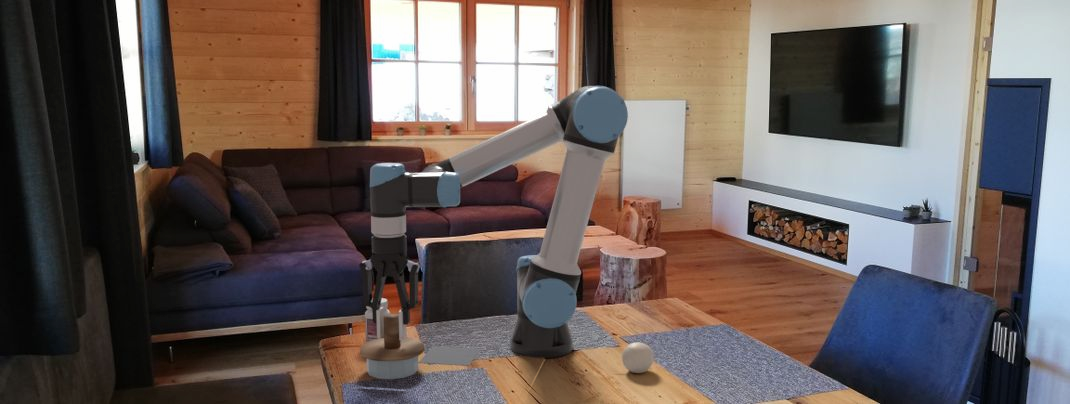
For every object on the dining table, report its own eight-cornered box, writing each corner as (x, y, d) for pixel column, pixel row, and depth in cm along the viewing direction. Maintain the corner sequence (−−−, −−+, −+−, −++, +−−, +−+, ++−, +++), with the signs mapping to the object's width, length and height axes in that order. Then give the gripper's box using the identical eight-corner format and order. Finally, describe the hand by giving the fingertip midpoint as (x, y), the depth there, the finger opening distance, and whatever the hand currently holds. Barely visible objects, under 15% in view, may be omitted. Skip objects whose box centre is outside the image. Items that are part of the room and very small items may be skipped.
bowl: (423, 365, 196) (423, 344, 195) (408, 382, 185) (408, 360, 184) (378, 362, 198) (377, 342, 197) (360, 379, 187) (359, 357, 186)
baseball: (659, 370, 193) (660, 342, 192) (641, 379, 187) (642, 350, 186) (634, 364, 197) (635, 336, 196) (616, 372, 191) (616, 343, 190)
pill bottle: (395, 346, 210) (394, 301, 208) (371, 350, 207) (370, 305, 205) (385, 339, 215) (383, 295, 213) (361, 344, 212) (360, 299, 210)
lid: (432, 342, 196) (431, 309, 195) (412, 363, 183) (412, 326, 182) (373, 339, 199) (372, 306, 198) (350, 359, 185) (349, 323, 184)
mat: (481, 350, 206) (481, 348, 206) (469, 367, 195) (469, 365, 195) (433, 348, 208) (433, 346, 208) (418, 364, 197) (418, 362, 197)
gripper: (432, 232, 189) (434, 334, 192) (357, 229, 192) (360, 330, 195) (422, 238, 182) (424, 344, 185) (344, 236, 185) (348, 340, 188)
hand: (391, 337), depth 190 cm, fingers open, 4 cm apart
